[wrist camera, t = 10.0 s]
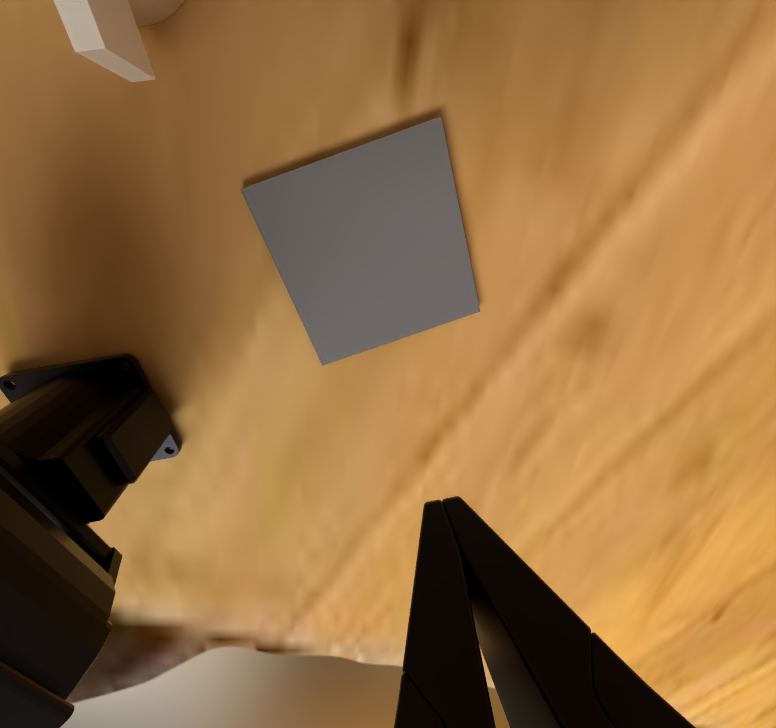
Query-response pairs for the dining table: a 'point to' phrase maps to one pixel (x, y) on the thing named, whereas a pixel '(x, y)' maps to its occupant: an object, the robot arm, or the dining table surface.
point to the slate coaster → (370, 241)
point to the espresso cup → (114, 32)
